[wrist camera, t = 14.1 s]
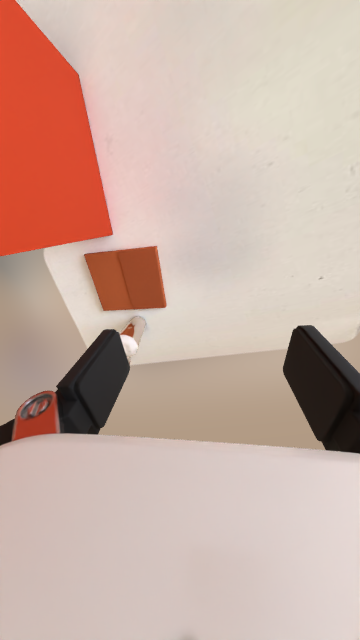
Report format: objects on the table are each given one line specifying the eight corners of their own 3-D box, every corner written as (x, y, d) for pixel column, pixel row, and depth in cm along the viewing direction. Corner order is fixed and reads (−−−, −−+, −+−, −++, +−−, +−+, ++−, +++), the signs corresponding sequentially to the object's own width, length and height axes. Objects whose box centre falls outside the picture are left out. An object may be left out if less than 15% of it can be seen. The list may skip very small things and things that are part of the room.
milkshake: (134, 336, 40) (116, 369, 31) (124, 315, 38) (101, 344, 29) (153, 332, 39) (139, 365, 30) (144, 311, 37) (126, 340, 28)
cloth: (86, 253, 32) (82, 254, 31) (156, 246, 30) (155, 247, 29) (105, 309, 37) (102, 311, 36) (166, 305, 35) (165, 308, 35)
